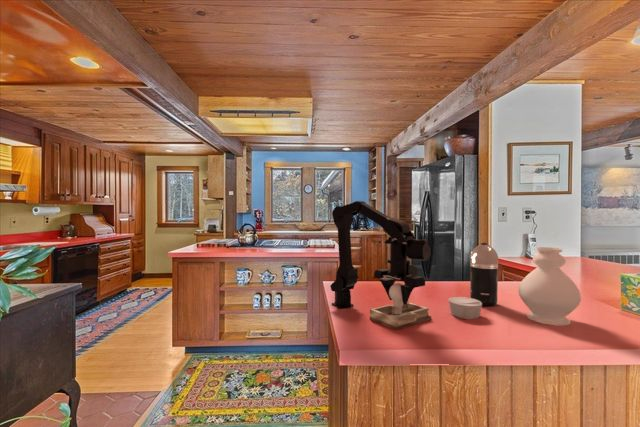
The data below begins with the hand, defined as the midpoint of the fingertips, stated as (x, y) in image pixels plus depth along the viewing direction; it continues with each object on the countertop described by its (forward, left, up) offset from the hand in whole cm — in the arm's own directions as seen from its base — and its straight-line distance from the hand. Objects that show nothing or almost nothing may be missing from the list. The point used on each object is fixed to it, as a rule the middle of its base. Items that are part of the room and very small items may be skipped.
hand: (398, 302), depth 112 cm
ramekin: (+10, +24, -7) cm, 27 cm away
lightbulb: (0, 0, -5) cm, 5 cm away
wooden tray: (0, +1, -6) cm, 6 cm away
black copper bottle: (+6, +44, -6) cm, 45 cm away
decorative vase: (+29, +44, -7) cm, 53 cm away
